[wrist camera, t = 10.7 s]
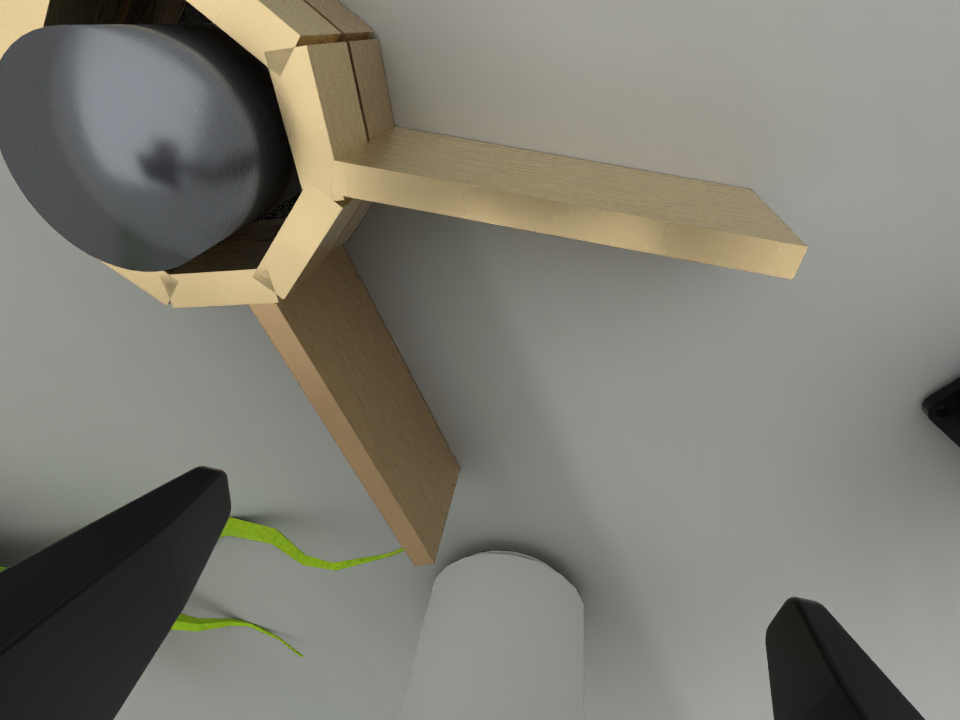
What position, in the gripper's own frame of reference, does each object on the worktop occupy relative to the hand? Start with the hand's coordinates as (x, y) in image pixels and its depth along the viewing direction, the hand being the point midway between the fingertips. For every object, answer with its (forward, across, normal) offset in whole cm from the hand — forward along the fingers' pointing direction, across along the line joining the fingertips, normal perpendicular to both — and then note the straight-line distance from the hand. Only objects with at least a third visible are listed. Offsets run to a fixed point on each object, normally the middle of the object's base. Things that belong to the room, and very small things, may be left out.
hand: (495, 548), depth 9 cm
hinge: (+12, +6, -1) cm, 13 cm away
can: (+12, -2, +17) cm, 21 cm away
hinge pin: (+12, +10, -3) cm, 16 cm away
